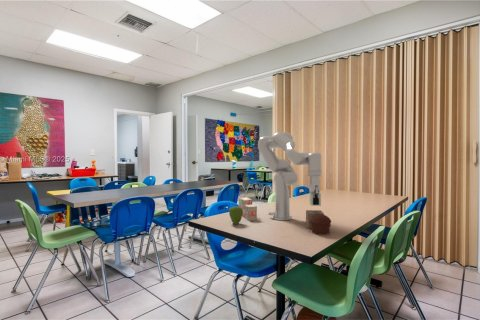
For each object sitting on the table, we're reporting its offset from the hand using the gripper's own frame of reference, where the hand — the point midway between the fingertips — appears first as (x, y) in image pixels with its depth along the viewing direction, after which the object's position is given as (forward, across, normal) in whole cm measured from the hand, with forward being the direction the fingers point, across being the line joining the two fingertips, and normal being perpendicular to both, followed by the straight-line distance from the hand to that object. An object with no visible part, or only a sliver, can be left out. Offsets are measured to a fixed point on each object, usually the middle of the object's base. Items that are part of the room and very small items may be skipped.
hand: (315, 203), depth 162 cm
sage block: (+1, 0, 0) cm, 1 cm away
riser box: (+14, 0, 0) cm, 14 cm away
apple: (+14, -4, -48) cm, 50 cm away
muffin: (+14, +11, +1) cm, 18 cm away
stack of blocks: (+14, -24, -42) cm, 51 cm away
